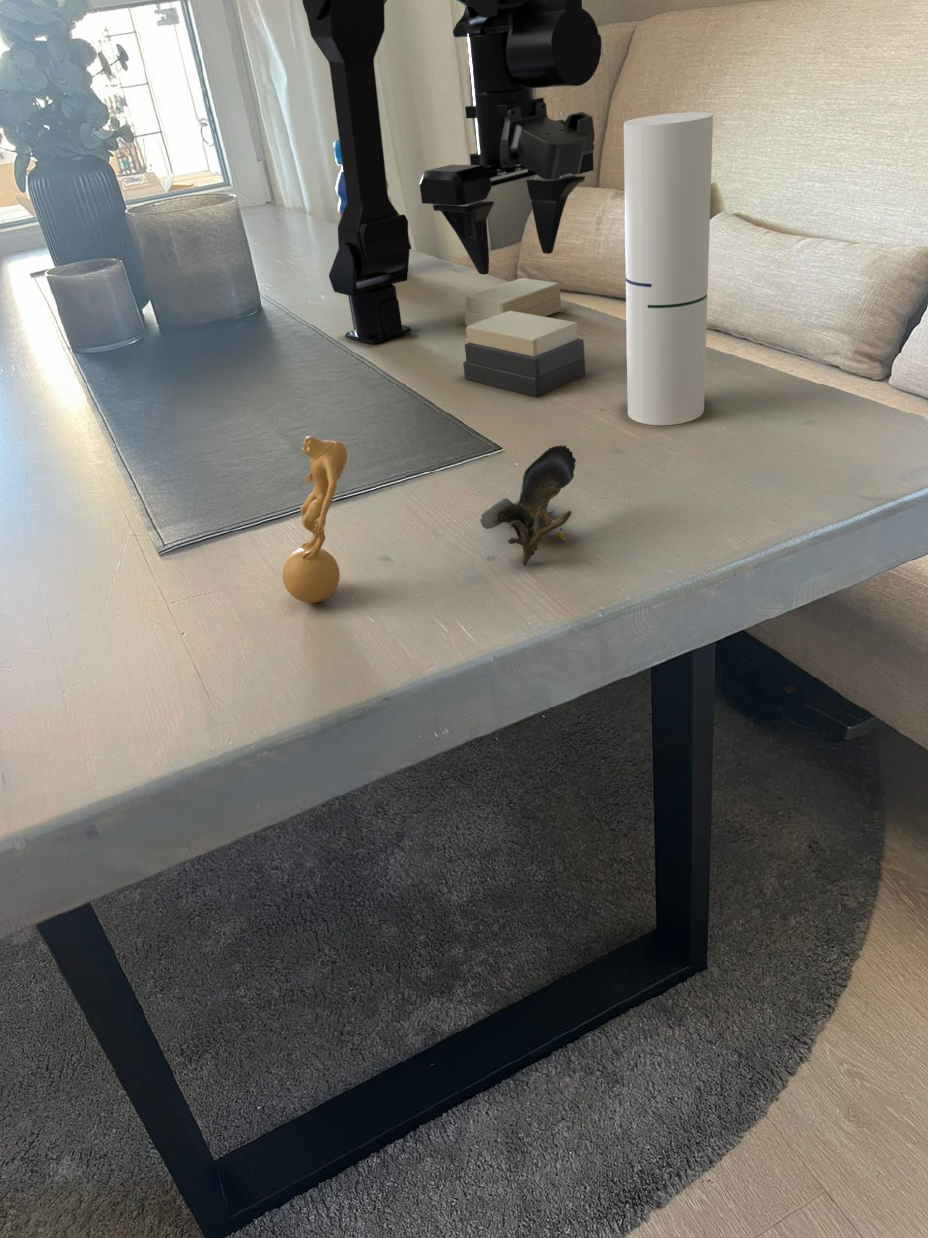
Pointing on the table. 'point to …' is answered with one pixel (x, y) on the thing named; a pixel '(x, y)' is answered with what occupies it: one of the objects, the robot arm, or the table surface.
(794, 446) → the table surface
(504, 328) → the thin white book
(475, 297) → the white books
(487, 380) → the grey books
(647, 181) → the cylindrical container
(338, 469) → the figurine
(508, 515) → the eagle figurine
